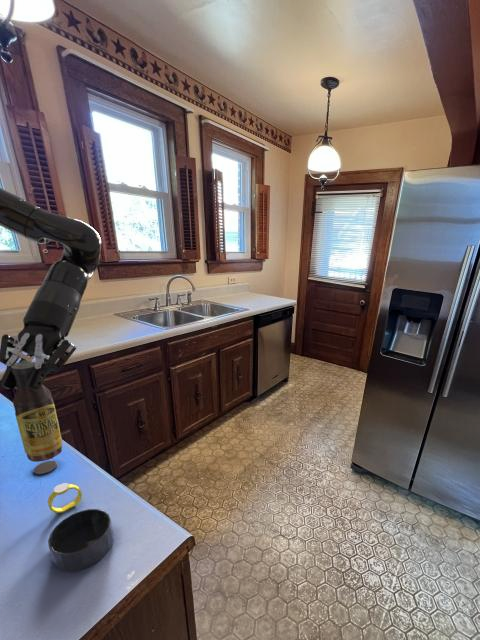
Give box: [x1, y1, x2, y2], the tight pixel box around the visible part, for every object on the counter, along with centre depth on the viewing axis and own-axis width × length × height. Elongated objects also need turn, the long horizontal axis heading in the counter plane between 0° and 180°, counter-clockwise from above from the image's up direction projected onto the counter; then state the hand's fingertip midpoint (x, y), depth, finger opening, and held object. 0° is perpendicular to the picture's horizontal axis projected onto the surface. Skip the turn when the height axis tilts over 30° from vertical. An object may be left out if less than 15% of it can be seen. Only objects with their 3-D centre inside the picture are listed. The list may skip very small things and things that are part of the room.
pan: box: [47, 508, 115, 573], centre depth 60 cm, size 10×10×4 cm
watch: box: [47, 482, 83, 514], centre depth 68 cm, size 6×3×6 cm, turn 138°
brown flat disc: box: [33, 460, 58, 476], centre depth 80 cm, size 5×5×1 cm
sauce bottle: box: [11, 361, 63, 463], centre depth 61 cm, size 6×6×20 cm
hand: (19, 388), depth 57 cm, fingers closed on sauce bottle, 4 cm apart
